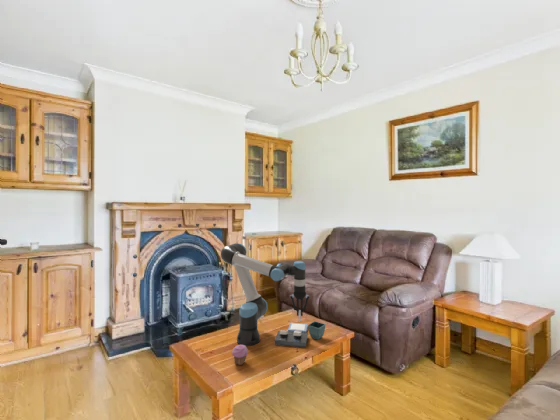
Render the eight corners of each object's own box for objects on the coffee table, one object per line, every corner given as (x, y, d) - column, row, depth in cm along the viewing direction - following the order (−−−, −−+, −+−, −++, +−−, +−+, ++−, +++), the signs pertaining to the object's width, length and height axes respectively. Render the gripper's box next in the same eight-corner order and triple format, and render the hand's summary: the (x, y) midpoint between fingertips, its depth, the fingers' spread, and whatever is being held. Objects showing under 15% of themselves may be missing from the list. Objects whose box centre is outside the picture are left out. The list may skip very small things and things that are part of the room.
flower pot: (319, 342, 199) (319, 328, 198) (307, 338, 204) (307, 325, 204) (325, 337, 206) (325, 324, 205) (314, 333, 211) (314, 321, 211)
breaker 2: (293, 335, 195) (293, 331, 196) (294, 333, 203) (295, 330, 203) (300, 336, 194) (300, 332, 195) (301, 334, 202) (301, 330, 203)
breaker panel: (274, 344, 194) (274, 338, 194) (278, 335, 208) (278, 329, 208) (305, 347, 191) (305, 340, 191) (307, 337, 205) (307, 331, 205)
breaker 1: (279, 333, 197) (279, 330, 197) (281, 333, 204) (281, 329, 205) (286, 334, 196) (286, 330, 197) (288, 333, 203) (288, 330, 204)
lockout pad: (287, 332, 214) (287, 329, 214) (290, 324, 226) (290, 322, 226) (306, 333, 211) (306, 331, 211) (307, 325, 224) (307, 323, 224)
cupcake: (229, 364, 171) (229, 346, 171) (238, 357, 178) (238, 340, 178) (241, 368, 166) (241, 350, 166) (251, 361, 174) (251, 344, 174)
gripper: (289, 286, 198) (289, 322, 199) (309, 286, 197) (309, 322, 198) (290, 283, 206) (290, 318, 206) (309, 283, 205) (309, 318, 205)
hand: (299, 320), depth 202 cm, fingers closed
